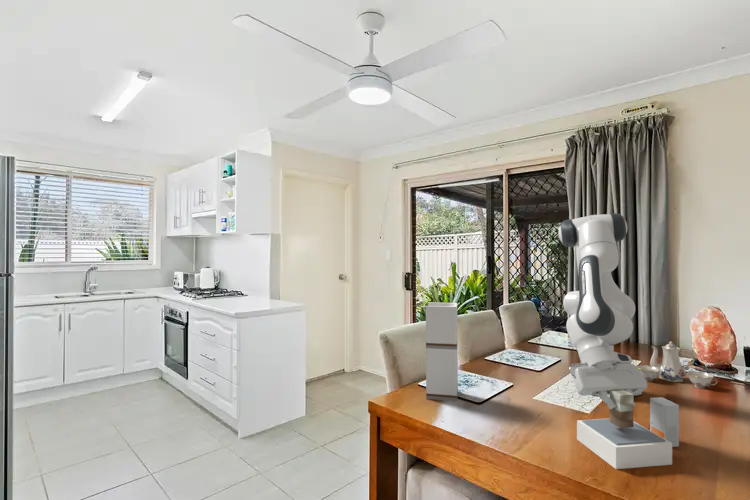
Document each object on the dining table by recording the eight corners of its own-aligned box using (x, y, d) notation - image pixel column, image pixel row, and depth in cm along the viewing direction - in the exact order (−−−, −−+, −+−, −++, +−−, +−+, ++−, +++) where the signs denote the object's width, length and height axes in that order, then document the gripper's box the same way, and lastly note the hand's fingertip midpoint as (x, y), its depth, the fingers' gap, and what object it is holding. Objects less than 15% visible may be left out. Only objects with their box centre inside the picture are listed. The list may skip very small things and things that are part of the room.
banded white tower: (457, 391, 158) (457, 302, 158) (457, 401, 148) (456, 306, 148) (428, 389, 161) (428, 302, 161) (426, 398, 151) (425, 306, 150)
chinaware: (636, 386, 167) (637, 347, 165) (629, 370, 182) (630, 335, 181) (721, 396, 156) (722, 354, 154) (705, 378, 171) (707, 341, 169)
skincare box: (649, 437, 119) (649, 397, 119) (662, 436, 120) (662, 396, 119) (665, 447, 113) (665, 405, 113) (679, 447, 114) (679, 405, 113)
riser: (626, 435, 120) (626, 415, 120) (672, 464, 104) (672, 441, 104) (576, 439, 118) (576, 419, 118) (616, 469, 102) (615, 445, 102)
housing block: (622, 420, 114) (622, 389, 113) (633, 427, 110) (633, 394, 110) (609, 421, 113) (609, 390, 113) (620, 428, 109) (620, 395, 109)
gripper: (571, 358, 117) (593, 405, 107) (635, 355, 119) (662, 400, 110) (562, 369, 121) (583, 414, 112) (624, 366, 124) (649, 410, 114)
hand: (623, 407), depth 111 cm, fingers closed on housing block, 4 cm apart
